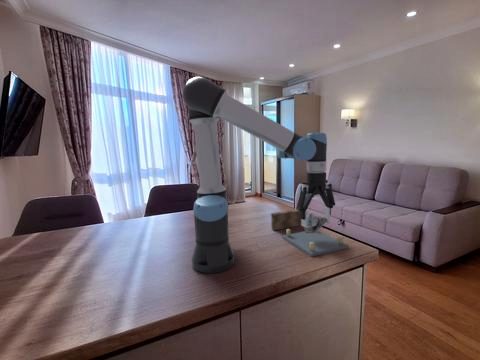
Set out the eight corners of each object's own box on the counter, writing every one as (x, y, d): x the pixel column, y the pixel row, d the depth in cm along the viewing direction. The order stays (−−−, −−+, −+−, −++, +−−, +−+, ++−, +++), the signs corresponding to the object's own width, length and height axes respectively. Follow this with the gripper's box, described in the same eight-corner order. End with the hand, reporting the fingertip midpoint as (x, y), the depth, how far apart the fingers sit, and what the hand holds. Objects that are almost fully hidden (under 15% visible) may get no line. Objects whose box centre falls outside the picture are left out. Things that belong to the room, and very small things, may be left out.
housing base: (310, 256, 91) (311, 245, 91) (282, 238, 110) (282, 229, 109) (348, 247, 98) (348, 237, 97) (315, 231, 116) (315, 223, 116)
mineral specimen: (308, 240, 105) (329, 240, 97) (296, 230, 102) (316, 230, 94) (313, 220, 110) (333, 218, 102) (302, 210, 107) (322, 208, 99)
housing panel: (274, 231, 118) (274, 214, 116) (271, 229, 120) (271, 212, 119) (303, 226, 123) (303, 210, 122) (299, 224, 126) (299, 208, 125)
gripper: (297, 175, 92) (298, 232, 95) (345, 170, 101) (344, 222, 104) (286, 173, 99) (287, 226, 102) (332, 168, 107) (331, 218, 111)
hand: (316, 224), depth 103 cm, fingers closed on mineral specimen, 10 cm apart
